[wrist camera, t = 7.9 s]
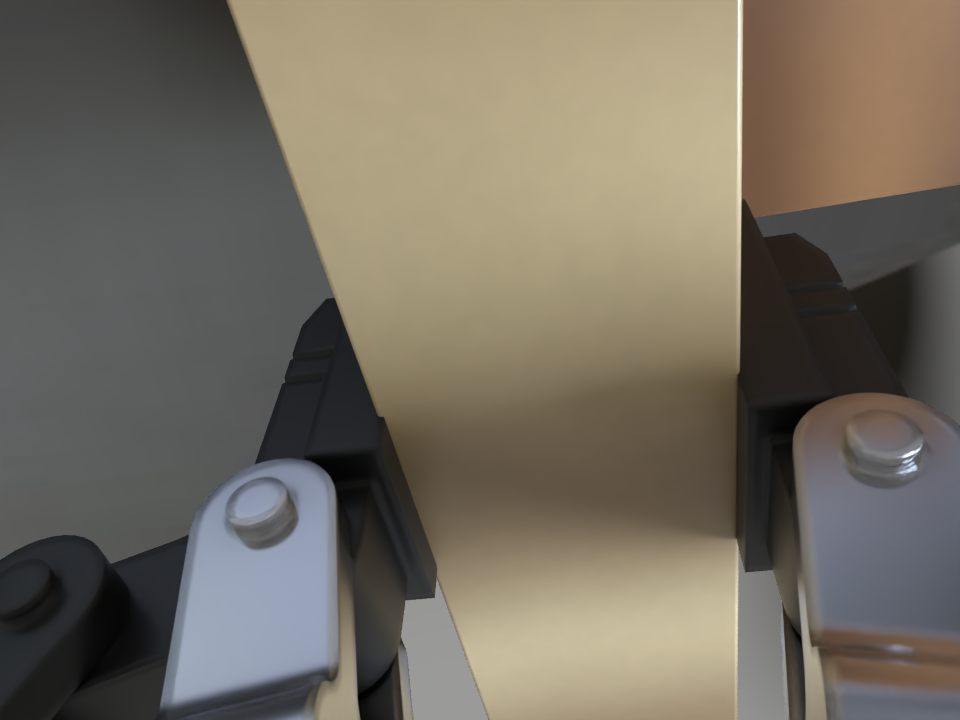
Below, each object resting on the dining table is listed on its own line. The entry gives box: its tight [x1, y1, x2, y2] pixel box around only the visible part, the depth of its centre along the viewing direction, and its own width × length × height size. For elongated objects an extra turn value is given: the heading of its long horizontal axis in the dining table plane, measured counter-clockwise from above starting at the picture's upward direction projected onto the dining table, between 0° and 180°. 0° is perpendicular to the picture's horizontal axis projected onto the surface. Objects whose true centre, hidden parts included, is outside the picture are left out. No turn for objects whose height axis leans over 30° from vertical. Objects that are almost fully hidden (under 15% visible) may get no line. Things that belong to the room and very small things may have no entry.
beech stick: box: [226, 0, 743, 720], centre depth 9 cm, size 15×3×4 cm, turn 11°
